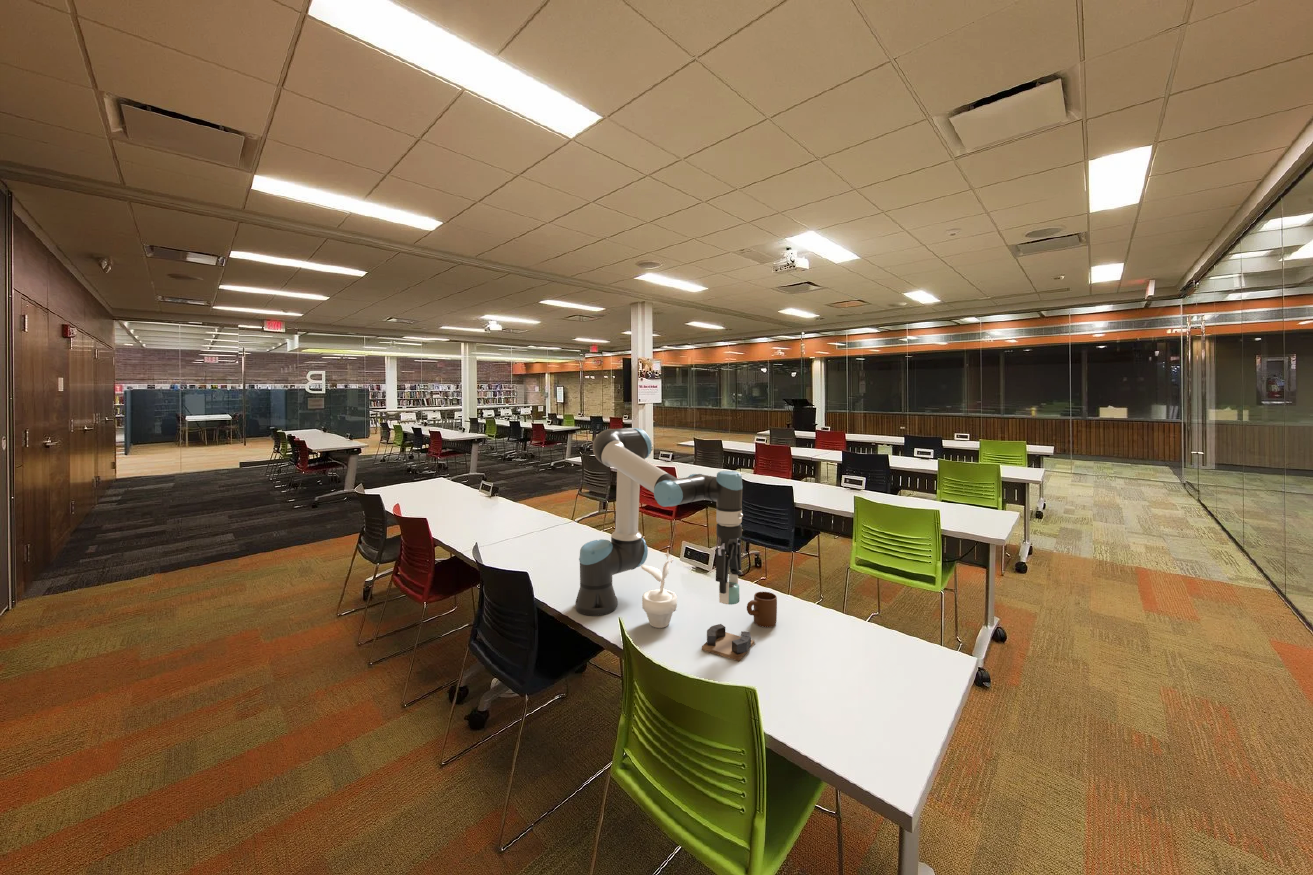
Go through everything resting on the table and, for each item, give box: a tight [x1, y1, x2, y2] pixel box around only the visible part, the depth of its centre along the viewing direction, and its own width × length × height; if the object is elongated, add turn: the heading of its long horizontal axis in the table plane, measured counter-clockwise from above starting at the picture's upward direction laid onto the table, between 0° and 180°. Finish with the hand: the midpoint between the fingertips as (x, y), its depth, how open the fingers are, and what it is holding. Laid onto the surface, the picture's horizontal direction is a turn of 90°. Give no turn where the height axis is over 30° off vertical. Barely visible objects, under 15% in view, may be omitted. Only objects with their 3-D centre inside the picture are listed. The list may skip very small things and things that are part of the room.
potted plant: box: [639, 549, 678, 629], centre depth 157 cm, size 13×12×25 cm
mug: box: [746, 591, 778, 628], centre depth 157 cm, size 12×8×9 cm, turn 123°
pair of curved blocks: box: [706, 623, 752, 655], centre depth 143 cm, size 13×9×3 cm
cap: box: [722, 581, 740, 606], centre depth 142 cm, size 6×6×5 cm
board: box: [701, 631, 756, 662], centre depth 143 cm, size 12×12×1 cm
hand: (728, 598), depth 142 cm, fingers closed on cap, 6 cm apart
